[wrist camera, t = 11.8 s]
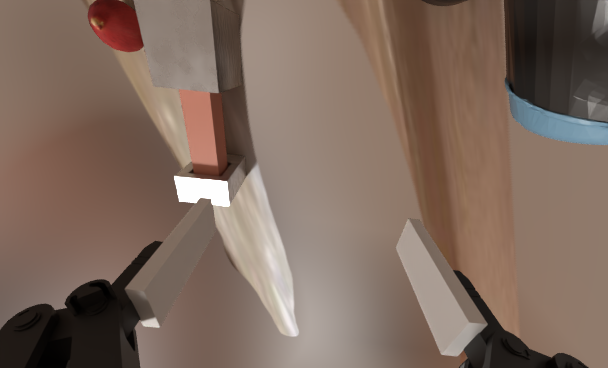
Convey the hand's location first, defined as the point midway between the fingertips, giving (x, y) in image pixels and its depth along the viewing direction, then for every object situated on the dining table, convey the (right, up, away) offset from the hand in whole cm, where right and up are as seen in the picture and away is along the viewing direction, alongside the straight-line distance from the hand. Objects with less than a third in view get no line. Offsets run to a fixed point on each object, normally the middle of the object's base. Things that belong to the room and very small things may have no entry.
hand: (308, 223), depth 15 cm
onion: (-25, +26, +18) cm, 40 cm away
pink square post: (-15, +11, +21) cm, 28 cm away
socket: (-16, +7, +28) cm, 33 cm away
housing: (-14, +23, +18) cm, 33 cm away
